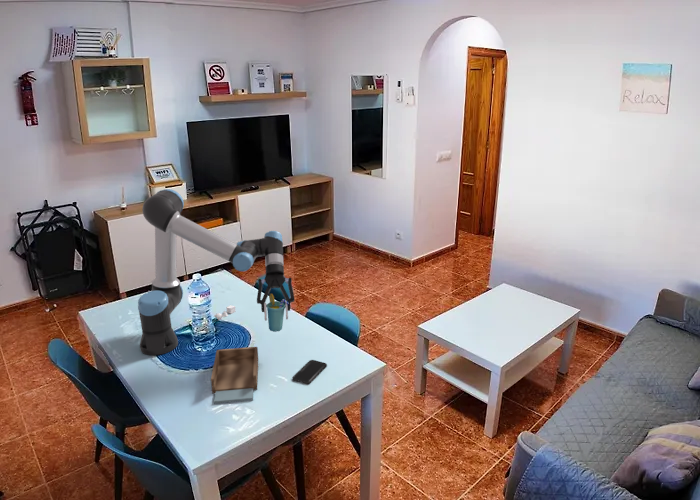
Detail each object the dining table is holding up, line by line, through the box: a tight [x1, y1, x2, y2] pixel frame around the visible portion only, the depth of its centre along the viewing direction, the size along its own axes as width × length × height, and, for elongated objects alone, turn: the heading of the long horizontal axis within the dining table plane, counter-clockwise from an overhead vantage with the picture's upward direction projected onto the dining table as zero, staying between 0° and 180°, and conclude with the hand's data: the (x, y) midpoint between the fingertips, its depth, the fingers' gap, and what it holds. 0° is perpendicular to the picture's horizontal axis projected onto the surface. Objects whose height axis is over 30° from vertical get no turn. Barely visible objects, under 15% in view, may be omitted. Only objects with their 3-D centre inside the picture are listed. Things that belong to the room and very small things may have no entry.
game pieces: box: [214, 304, 236, 321], centre depth 244 cm, size 12×3×3 cm, turn 151°
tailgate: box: [213, 388, 255, 405], centre depth 182 cm, size 13×1×6 cm
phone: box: [291, 359, 328, 385], centre depth 197 cm, size 8×1×15 cm
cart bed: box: [210, 346, 259, 394], centre depth 195 cm, size 16×21×6 cm
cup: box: [266, 293, 289, 333], centre depth 205 cm, size 14×8×15 cm, turn 46°
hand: (276, 318), depth 202 cm, fingers closed on cup, 8 cm apart
